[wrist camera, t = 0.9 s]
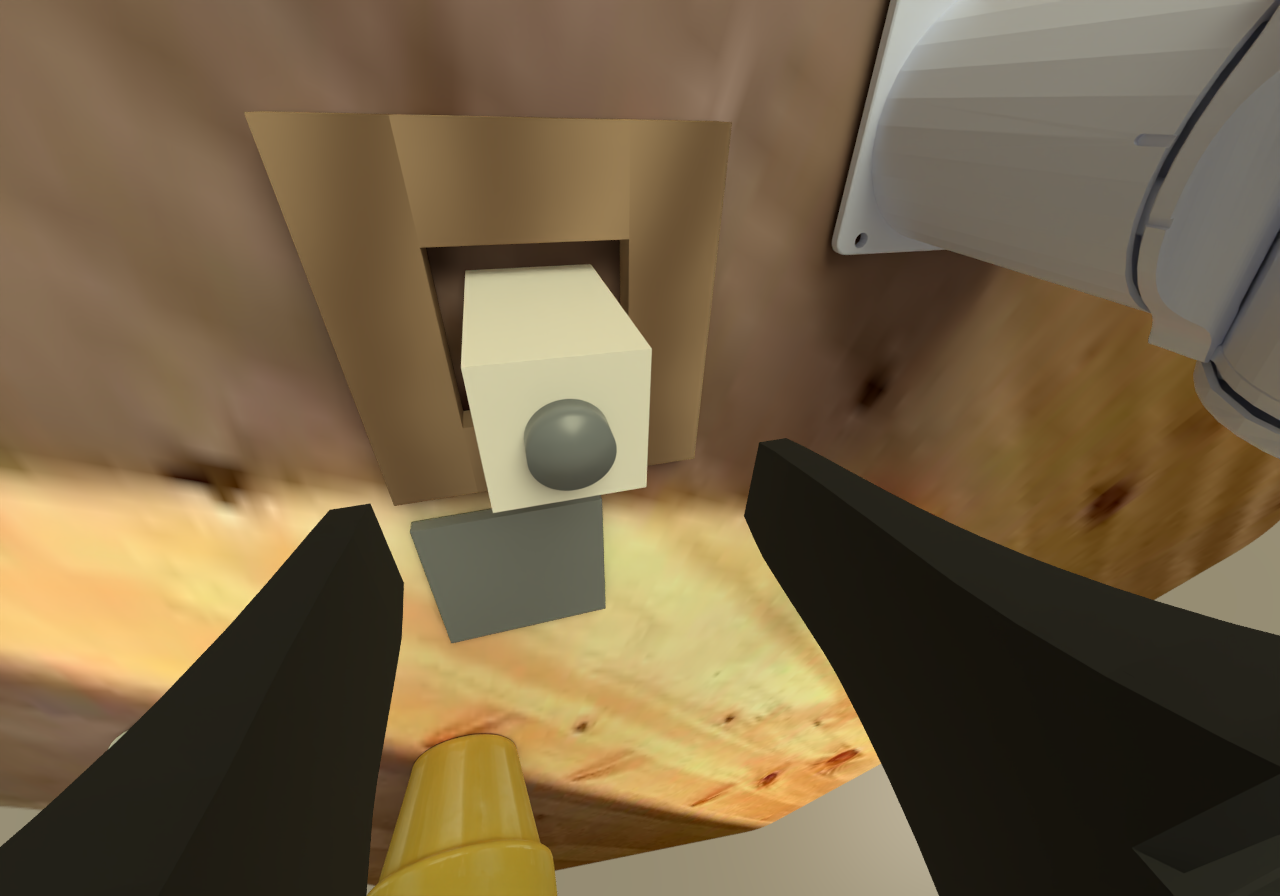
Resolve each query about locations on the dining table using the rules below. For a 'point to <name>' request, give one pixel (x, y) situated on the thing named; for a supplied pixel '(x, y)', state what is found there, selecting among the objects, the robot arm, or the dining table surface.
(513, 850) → the plant pot
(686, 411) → the holder
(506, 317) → the plug
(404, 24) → the dining table surface
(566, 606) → the coaster
